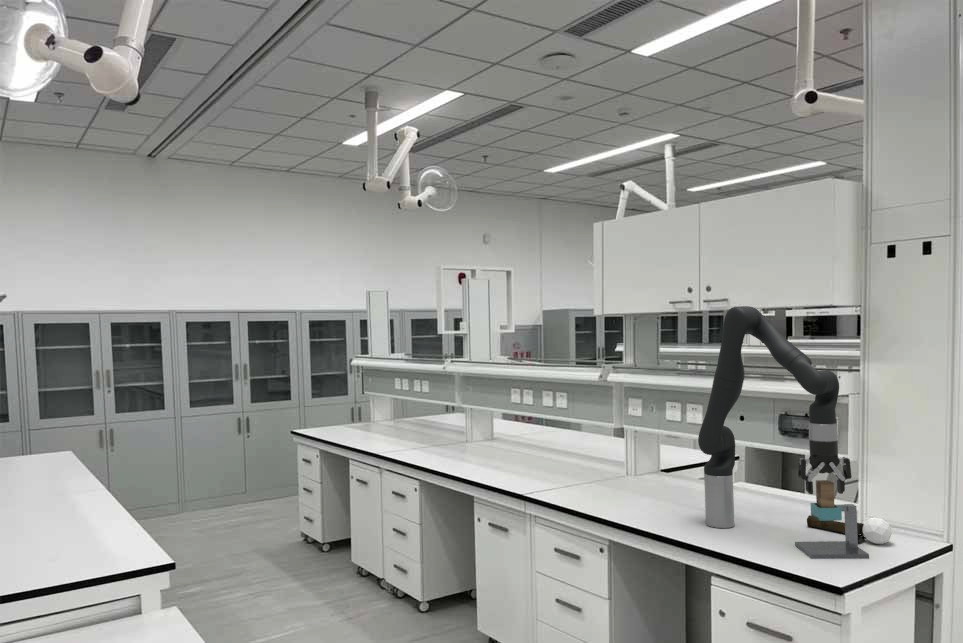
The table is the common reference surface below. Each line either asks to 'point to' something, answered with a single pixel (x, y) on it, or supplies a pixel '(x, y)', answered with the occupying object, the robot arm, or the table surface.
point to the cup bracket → (835, 547)
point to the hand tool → (831, 525)
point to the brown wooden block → (825, 494)
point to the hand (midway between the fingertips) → (825, 493)
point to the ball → (877, 530)
